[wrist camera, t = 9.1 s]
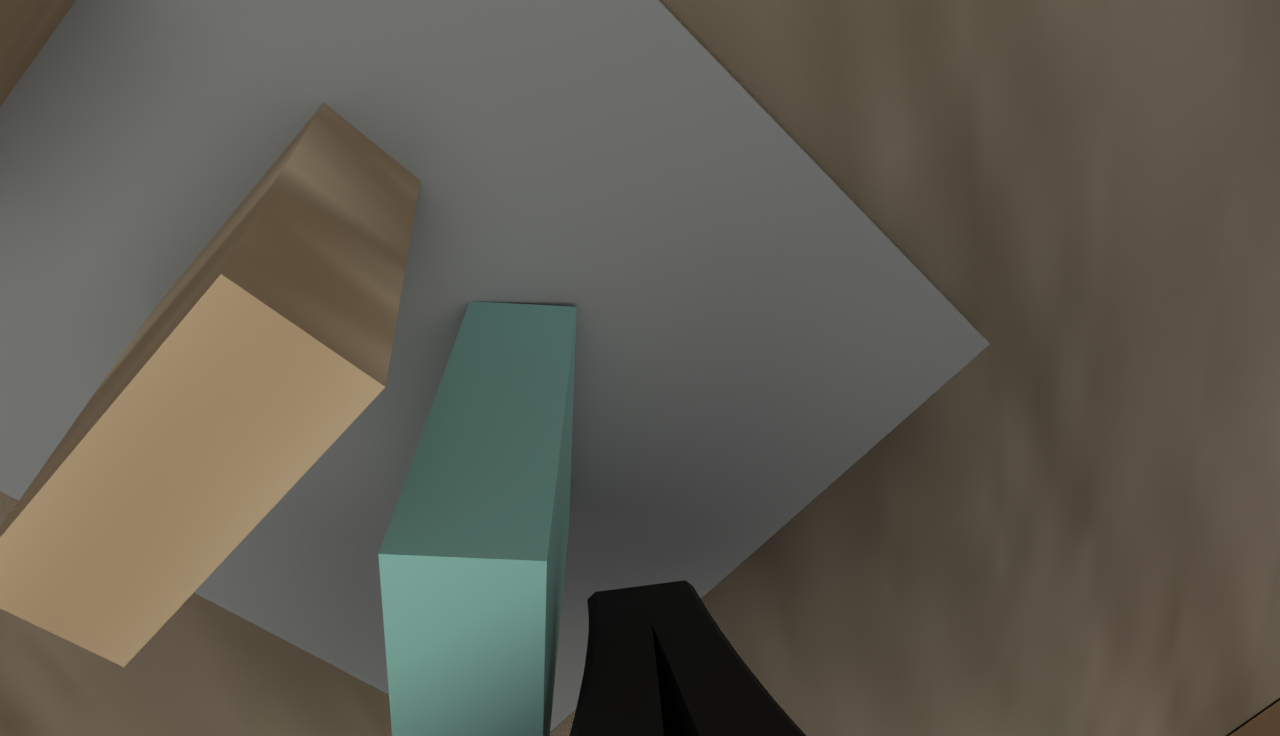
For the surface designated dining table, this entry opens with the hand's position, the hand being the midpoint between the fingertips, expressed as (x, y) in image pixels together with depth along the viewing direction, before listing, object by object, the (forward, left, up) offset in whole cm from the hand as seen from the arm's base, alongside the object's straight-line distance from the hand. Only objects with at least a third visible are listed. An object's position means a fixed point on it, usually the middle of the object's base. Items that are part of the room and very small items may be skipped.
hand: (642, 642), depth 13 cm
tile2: (+6, 0, -4) cm, 7 cm away
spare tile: (+2, 0, -4) cm, 4 cm away
